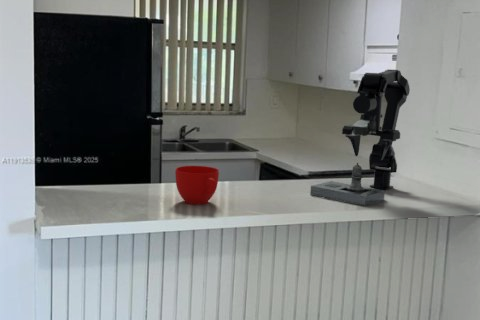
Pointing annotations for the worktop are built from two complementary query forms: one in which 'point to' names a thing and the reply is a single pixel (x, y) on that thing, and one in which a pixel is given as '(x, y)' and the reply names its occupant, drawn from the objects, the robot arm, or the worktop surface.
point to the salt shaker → (356, 180)
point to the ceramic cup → (196, 183)
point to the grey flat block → (346, 193)
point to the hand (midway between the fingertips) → (368, 157)
